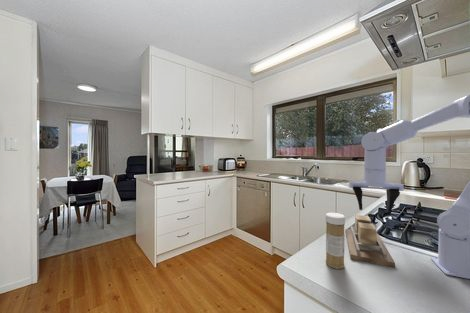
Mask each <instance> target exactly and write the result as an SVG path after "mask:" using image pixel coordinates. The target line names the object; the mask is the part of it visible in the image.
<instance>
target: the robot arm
mask: <svg viewBox="0 0 470 313" xmlns="http://www.w3.org/2000/svg"><path fill="white" fill-rule="evenodd" d="M457 118H466V119H467V118H469V119H470V94H468V95H466V96H464V97H461V98H459V99H457V100H454V101H452V102H450V103H448V104H445V105H444V106H441V107H439V108H437V109H435V110H433V111H430V112H428V113H426V114H425V115H422V116H419V117H417V118H415V119H413V120H408V119H403V120H399V119H396V120H395V121H393V124H391V125H389V126H385V127H384V128H378V129H377V130H376V131H369V132H367V133H366V134H364V136H363V137H362V138H361V141H360V142H361V146H362V148H363V149H364V166H363V168H364V170H363V171H364V172H363V173H364V174H363V177H364V180H363V181H359V180H358V181H355V180H354V181H348V188H351V189H352V191H353V192H354V195H355V197H356V200H357V203H358V208H359V211H363V189H372V190H373V189H374V190H386V212H387V213H388V214H391V213H392V209H393V206H394V204H395V203H396V201H397V199H398V198H399V197H400V194H401V192H404V184H403V183H397V182H396V183H395V182H394V183H393V182H392V183H391V182H386V180H387V178H386V176H387V175H386V174H387V172H386V171H387V170H386V168H387V167H386V165H387V161H386V160H387V158H386V157H387V153H386V152H387V150H386V149H387V148H388V147H390V146H393V145H396V144H399V143H402V142H405V141H408V140H410V139H413V138H415V136H416V134H418V132H419V131H422V130H424V129H427V128H430V127H433V126H436V125H438V124H441V123H445V122H447V121H450V120H453V119H457ZM436 224H437V226H438V227H439V228H438V246H437V247H438V249H437V252H438V253H437V257H434V256H431V257H430V260H432V261H433V263H434V264H435V265H436V266H437V267H438V268H439V269H440V270H441V271H442V272H443V273H444V275H447V276H452V277H457V278H463V279H468V280H470V180H469V181H468V183H467V184H466V185H465V187H464V189H463V191H462V192H461V193H460V195H459V196H458V198H456V200H455V201H454V203H453V204H452V205H451V207H449V208H448V209H447V210H446V211H443V212H442V213H440V214H439V215H438V216H437V219H436Z"/></svg>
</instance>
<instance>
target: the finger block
mask: <svg viewBox="0 0 470 313" xmlns="http://www.w3.org/2000/svg"><path fill="white" fill-rule="evenodd" d="M376 233H377V228H376V226H375V225H374V223H371V224H369V223H361V222H358V242H359V243H361V244H367V245H374V246H376Z"/></svg>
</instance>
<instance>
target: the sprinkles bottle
mask: <svg viewBox="0 0 470 313" xmlns="http://www.w3.org/2000/svg"><path fill="white" fill-rule="evenodd" d="M325 224H326V228H325V229H326V230H325V231H326V236H325V237H326V239H325V252H326V253H325V263H326V265H328V266H329V267H330V268H333V269H340V270H341V269H343V268H345V224H346V216H345V215H344V214H342V213H339V212H338V213H337V212H328V213H327V212H326V214H325Z"/></svg>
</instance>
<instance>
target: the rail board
mask: <svg viewBox="0 0 470 313" xmlns="http://www.w3.org/2000/svg"><path fill="white" fill-rule="evenodd" d="M354 220H355V222H354V227H353V225H352V226H351V225H350V229H348V228H344V234H345V237H346V238H345V239H346V241H347V242H346V243H347V248H348V253H349V258H350V260H355V261H360V262H366V263H371V264H375V265H381V266H385V267H391V268H395V267H396V262H395V260H394V259H393V257H392V255H391V253H390V251H389V250H388V248H387V246H386V245H385V244H384V241H383V240H382V238H381V236H380V235H379V233H377V232H376V246H374V245H367V244H361V243H359V242H358V222H361V223H369V224H372V219H371V218H370V217H369V216H368V215H361V214H355V216H354Z"/></svg>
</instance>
